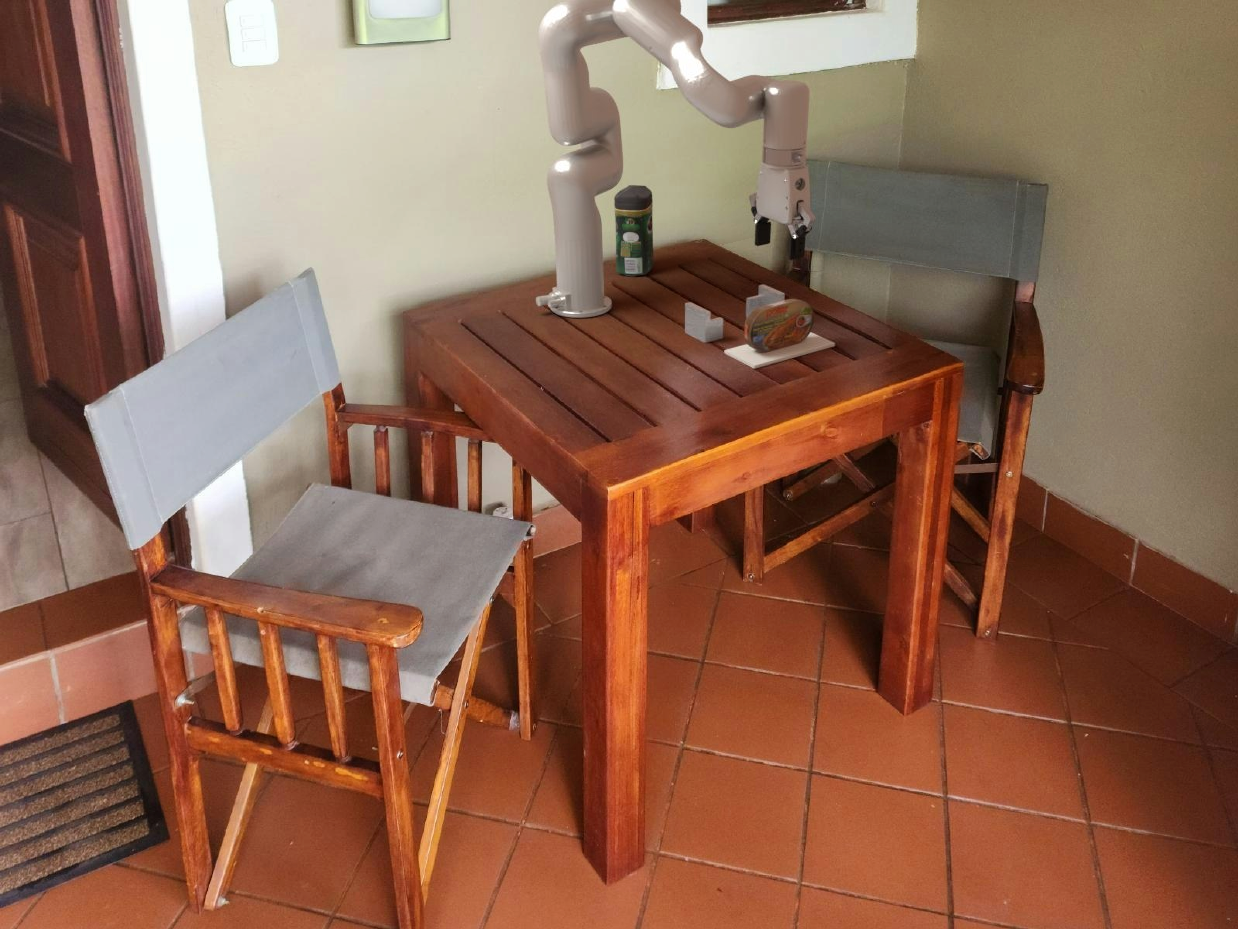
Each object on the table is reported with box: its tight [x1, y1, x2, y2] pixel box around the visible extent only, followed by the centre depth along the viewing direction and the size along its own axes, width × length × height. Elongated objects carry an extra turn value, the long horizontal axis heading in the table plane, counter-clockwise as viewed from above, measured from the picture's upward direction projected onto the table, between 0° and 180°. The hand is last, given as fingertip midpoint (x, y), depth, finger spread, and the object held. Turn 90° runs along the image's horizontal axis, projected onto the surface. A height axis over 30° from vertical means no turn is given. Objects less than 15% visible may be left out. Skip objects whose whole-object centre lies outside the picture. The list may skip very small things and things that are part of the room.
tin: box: [743, 298, 815, 353], centre depth 217 cm, size 15×3×8 cm, turn 121°
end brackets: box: [684, 284, 785, 344], centre depth 228 cm, size 7×19×6 cm, turn 122°
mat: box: [723, 331, 836, 369], centre depth 219 cm, size 19×9×1 cm, turn 122°
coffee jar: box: [613, 184, 655, 277], centre depth 258 cm, size 10×8×19 cm
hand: (778, 251), depth 212 cm, fingers open, 9 cm apart
